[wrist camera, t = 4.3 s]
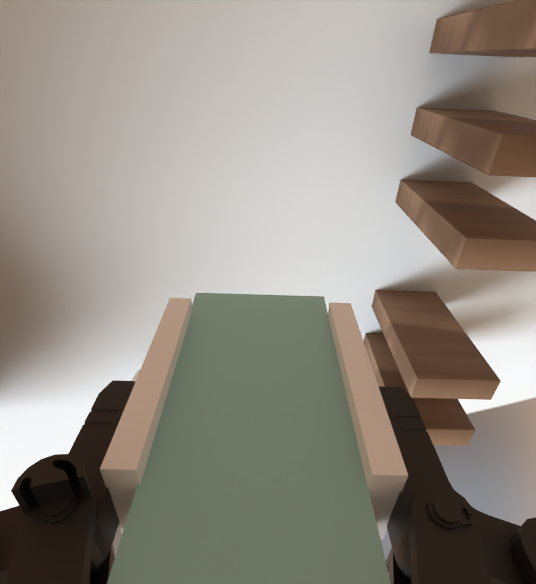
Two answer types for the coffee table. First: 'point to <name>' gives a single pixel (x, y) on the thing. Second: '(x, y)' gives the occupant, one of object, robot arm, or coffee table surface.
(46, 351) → the coffee table surface
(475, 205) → the domino
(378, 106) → the coffee table surface
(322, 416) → the teal domino
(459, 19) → the domino
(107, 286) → the coffee table surface
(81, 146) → the coffee table surface
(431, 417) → the domino
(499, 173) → the domino
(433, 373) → the domino
